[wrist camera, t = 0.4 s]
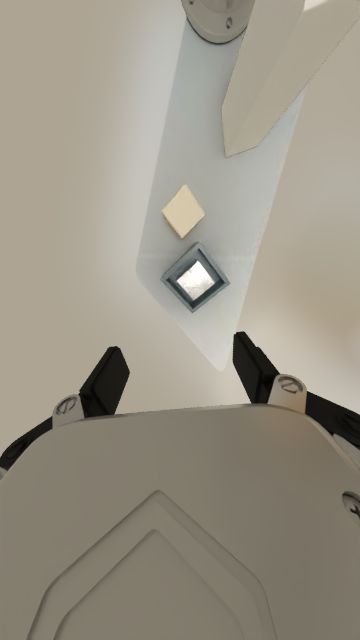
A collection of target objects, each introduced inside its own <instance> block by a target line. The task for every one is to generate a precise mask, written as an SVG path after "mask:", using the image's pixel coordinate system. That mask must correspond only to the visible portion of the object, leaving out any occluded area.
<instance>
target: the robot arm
mask: <svg viewBox="0 0 360 640" xmlns="http://www.w3.org/2000/svg"><path fill="white" fill-rule="evenodd" d="M181 2H182V5H183V8H184V10H185V12H186V15H187V17H188V20H189V21H190V23H191V24H192V26H193V28H194V29H195V30H196V31H197V32H198V33H199V34H200V35H201V36H202V37H203V38H205V39H206V40H208V41H210V42H215V43H223V42H227V41H229V40H232V39H234V38H235V37H236V36H238V35H239V34H240V33H241V32H242V31H243V30H244V29H245V28H246V27H247V25H248V22H249V19H250V16H251V13H252V9H253V6H254V3H255V0H181ZM233 364H234V366H235V369H236V371H237V373H238V375H239V377H240V379H241V382H242V384H243V386H244V388H245V390H246V393H247V395H248V397H249V399H250V401H251V403H252V404H234V405H220V406H207V407H196V408H183V409H171V410H160V411H148V412H137V413H127V414H116V415H114V414H115V411H116V408H117V406H118V403H119V401H120V398H121V395H122V393H123V390H124V388H125V385H126V382H127V380H128V377H129V373H130V372H129V369H128V366H127V364H126V361H125V359H124V357H123V354H122V352H121V350H120V348H118V347H117V346H114V347H109V348H108V349H107V351H106V352H105V354H104V355H103V357H102V358H101V360H100V361H99V363H98V364H97V365H96V367H95V368H94V370H93V371H92V373H91V374H90V376H89V377H88V379H87V380H86V382H85V383H84V384H83V386H82V387H81V389H80V393H79V394H78V395H77V394H74V395H70V396H68V397H66V398H64V399H63V400H62V401H60V403H58V404H57V406H56V407H55V408H54V410H53V416H51V417H50V418H48V419H47V420H45V421H44V422H42V423H41V424H39V425H38V426H36V427H35V428H33V429H32V430H30V431H29V432H27V433H26V434H24V435H23V436H21V437H20V438H18V439H17V440H16V441H14V442H13V443H12V444H11V445H10V446H9V447H8V448H7V449H6V450H5V451H4V452H3V454H2V456H1V457H0V640H360V415H359V414H357V413H355V412H353V411H351V410H349V409H347V408H344V407H342V406H340V405H337V404H335V403H333V402H331V401H328V400H326V399H324V398H322V397H319V396H317V395H315V394H313V393H310V392H308V391H307V389H306V387H305V385H304V384H303V383H302V382H301V381H300V380H299V379H297V378H295V377H293V376H291V375H287V374H280V373H279V372H278V370H277V369H276V368H275V367H274V365H273V364H272V363H271V362H270V360H269V359H268V358H267V356H266V355H265V354H264V353H263V351H262V350H261V349H260V348H259V347H256V346H255V345H254V343H253V342H252V341H251V340H250V338H249V337H248V336H247V334H246V333H245V332H237V333H236V334H234V342H233Z"/></svg>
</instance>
